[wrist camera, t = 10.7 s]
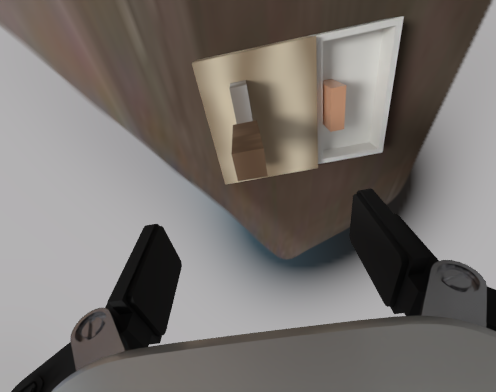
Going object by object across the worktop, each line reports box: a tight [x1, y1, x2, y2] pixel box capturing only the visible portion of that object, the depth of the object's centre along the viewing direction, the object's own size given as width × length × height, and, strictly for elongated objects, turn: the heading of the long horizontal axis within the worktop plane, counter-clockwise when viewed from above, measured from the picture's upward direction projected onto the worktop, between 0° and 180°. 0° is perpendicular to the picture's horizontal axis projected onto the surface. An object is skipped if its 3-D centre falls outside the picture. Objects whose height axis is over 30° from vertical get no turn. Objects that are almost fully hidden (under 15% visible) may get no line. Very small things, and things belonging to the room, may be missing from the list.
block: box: [323, 79, 346, 132], centre depth 26 cm, size 4×4×2 cm
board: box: [192, 36, 318, 184], centre depth 28 cm, size 12×14×4 cm
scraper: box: [229, 80, 268, 181], centre depth 22 cm, size 2×9×10 cm, turn 10°
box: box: [309, 16, 404, 164], centre depth 27 cm, size 8×14×3 cm, turn 10°
